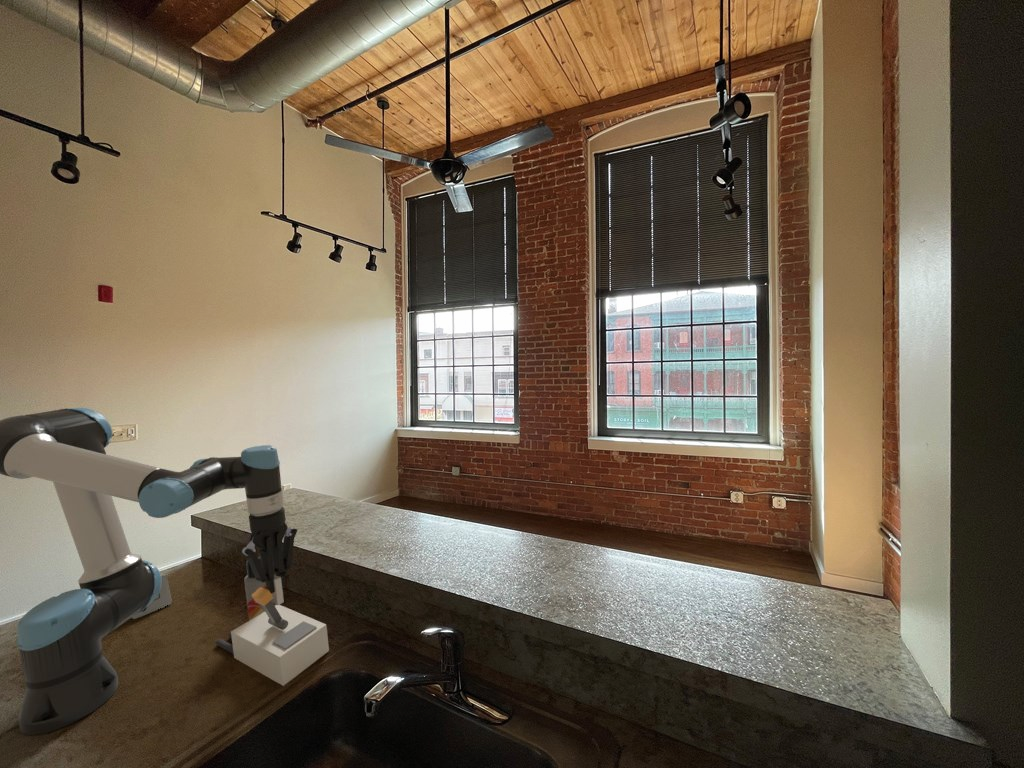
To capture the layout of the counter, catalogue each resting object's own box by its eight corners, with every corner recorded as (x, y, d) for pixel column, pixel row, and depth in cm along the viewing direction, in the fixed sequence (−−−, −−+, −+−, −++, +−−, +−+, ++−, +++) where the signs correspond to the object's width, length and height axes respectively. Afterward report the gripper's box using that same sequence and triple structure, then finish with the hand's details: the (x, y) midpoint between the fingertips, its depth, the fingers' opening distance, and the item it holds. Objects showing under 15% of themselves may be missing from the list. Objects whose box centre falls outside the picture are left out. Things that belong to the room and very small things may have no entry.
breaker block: (234, 657, 105) (230, 629, 104) (280, 628, 115) (277, 602, 114) (283, 685, 95) (279, 655, 94) (329, 650, 105) (326, 623, 105)
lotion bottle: (255, 637, 112) (247, 565, 110) (246, 629, 115) (238, 560, 113) (278, 625, 116) (270, 556, 114) (268, 618, 120) (260, 551, 118)
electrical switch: (132, 621, 122) (127, 590, 122) (128, 616, 125) (124, 585, 125) (172, 604, 129) (168, 575, 129) (168, 600, 133) (163, 571, 132)
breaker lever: (269, 626, 105) (249, 594, 101) (277, 618, 107) (258, 586, 103) (281, 632, 102) (261, 599, 98) (290, 623, 104) (270, 591, 100)
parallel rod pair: (216, 646, 109) (215, 641, 109) (234, 635, 113) (233, 630, 113) (235, 657, 105) (234, 651, 105) (253, 645, 109) (252, 640, 109)
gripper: (247, 523, 94) (259, 622, 97) (301, 502, 106) (311, 591, 108) (229, 518, 98) (241, 613, 100) (283, 498, 109) (293, 585, 112)
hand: (277, 602), depth 104 cm, fingers closed
